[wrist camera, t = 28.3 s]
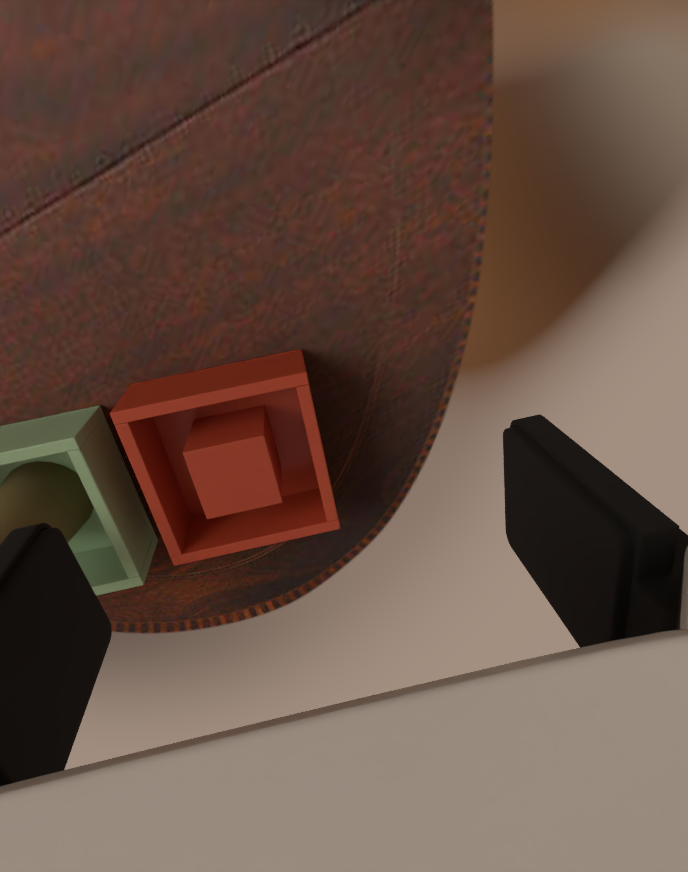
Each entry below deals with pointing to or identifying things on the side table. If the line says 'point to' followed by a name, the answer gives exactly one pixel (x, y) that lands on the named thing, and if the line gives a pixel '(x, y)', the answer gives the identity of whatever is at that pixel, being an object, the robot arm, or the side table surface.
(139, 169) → the side table surface
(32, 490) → the olive brown pawn
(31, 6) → the side table surface
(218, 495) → the rust block
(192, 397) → the rust bin
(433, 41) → the side table surface
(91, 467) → the sage bin
